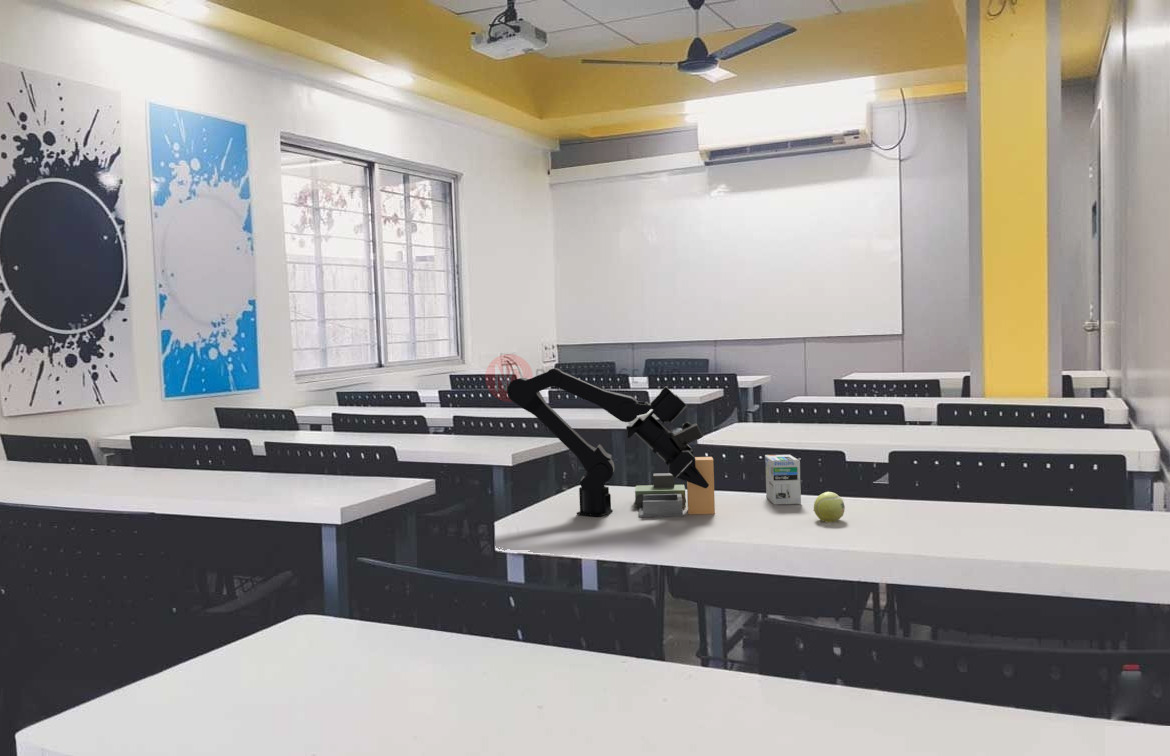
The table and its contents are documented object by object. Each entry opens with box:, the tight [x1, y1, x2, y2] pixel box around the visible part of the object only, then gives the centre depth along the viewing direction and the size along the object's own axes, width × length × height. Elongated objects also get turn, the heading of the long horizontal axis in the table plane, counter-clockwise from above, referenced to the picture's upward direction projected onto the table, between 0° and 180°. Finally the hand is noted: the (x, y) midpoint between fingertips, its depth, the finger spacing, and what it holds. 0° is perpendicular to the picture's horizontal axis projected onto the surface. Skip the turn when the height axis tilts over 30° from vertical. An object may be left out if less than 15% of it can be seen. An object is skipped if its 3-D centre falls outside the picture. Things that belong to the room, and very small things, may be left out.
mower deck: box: [634, 472, 687, 509], centre depth 221 cm, size 12×10×7 cm
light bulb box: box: [764, 454, 802, 506], centre depth 220 cm, size 11×7×11 cm, turn 179°
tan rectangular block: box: [686, 456, 716, 515], centre depth 210 cm, size 6×5×12 cm
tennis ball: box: [813, 491, 846, 523], centre depth 196 cm, size 6×7×7 cm
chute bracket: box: [638, 494, 684, 518], centre depth 211 cm, size 10×10×4 cm
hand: (706, 483), depth 210 cm, fingers open, 9 cm apart
